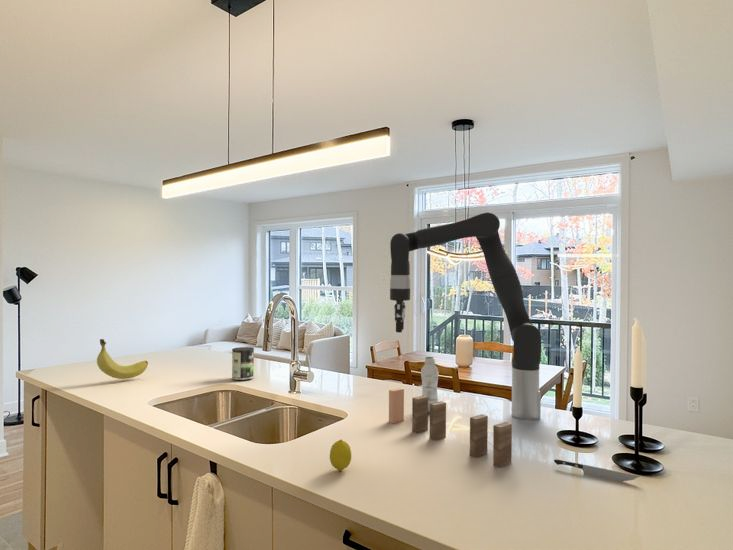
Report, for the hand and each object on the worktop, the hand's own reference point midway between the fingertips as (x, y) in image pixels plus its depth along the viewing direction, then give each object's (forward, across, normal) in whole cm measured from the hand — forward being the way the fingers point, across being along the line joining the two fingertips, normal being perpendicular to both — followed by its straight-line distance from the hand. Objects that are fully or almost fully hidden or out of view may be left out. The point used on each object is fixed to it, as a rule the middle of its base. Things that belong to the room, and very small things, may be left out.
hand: (399, 331), depth 167 cm
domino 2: (+30, -22, -8) cm, 38 cm away
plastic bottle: (+30, 0, -11) cm, 32 cm away
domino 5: (+30, -44, -31) cm, 62 cm away
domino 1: (+30, -13, 0) cm, 32 cm away
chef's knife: (+30, -48, -52) cm, 77 cm away
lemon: (+30, -55, +11) cm, 63 cm away
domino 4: (+30, -39, -25) cm, 55 cm away
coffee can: (+30, +40, +80) cm, 94 cm away
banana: (+30, +27, +134) cm, 140 cm away
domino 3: (+30, -27, -14) cm, 43 cm away
